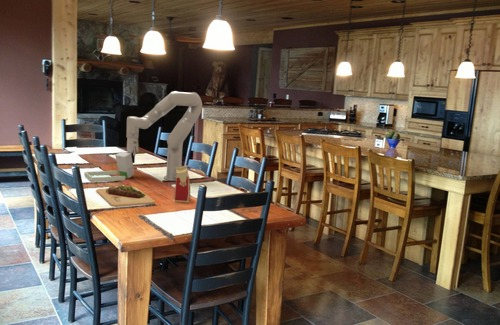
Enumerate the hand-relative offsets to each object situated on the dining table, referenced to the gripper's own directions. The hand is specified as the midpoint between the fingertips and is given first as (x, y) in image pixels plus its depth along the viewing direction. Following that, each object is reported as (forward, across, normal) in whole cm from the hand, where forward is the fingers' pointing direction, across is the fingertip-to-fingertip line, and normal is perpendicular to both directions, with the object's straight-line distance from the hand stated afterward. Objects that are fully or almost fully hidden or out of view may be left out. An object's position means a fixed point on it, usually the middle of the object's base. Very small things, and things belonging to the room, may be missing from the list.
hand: (131, 162), depth 305 cm
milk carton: (+10, -63, -8) cm, 64 cm away
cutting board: (+10, -48, +20) cm, 53 cm away
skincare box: (+9, 0, +3) cm, 9 cm away
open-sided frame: (+9, 0, +18) cm, 20 cm away
